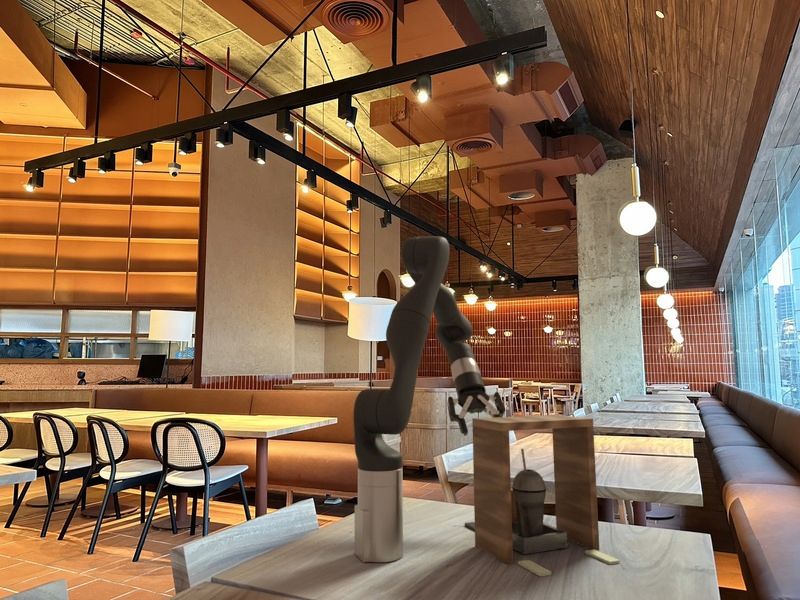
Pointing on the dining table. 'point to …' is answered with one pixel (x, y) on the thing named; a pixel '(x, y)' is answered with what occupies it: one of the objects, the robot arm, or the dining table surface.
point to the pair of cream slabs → (543, 572)
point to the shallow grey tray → (536, 536)
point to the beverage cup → (529, 501)
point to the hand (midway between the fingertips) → (482, 432)
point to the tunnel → (569, 476)
